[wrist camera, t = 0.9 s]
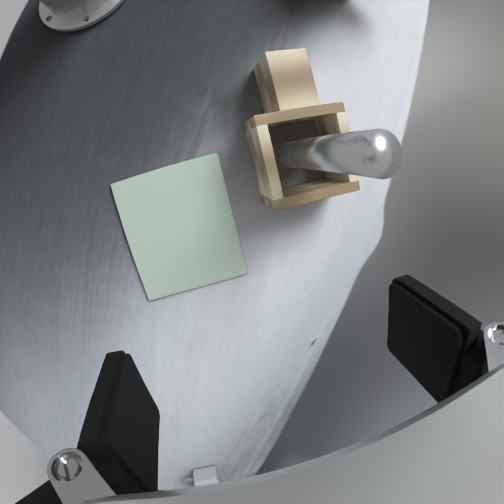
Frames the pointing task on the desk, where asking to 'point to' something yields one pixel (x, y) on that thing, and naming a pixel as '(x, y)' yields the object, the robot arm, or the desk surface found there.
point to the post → (346, 153)
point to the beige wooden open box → (289, 111)
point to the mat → (180, 226)
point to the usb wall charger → (205, 476)
